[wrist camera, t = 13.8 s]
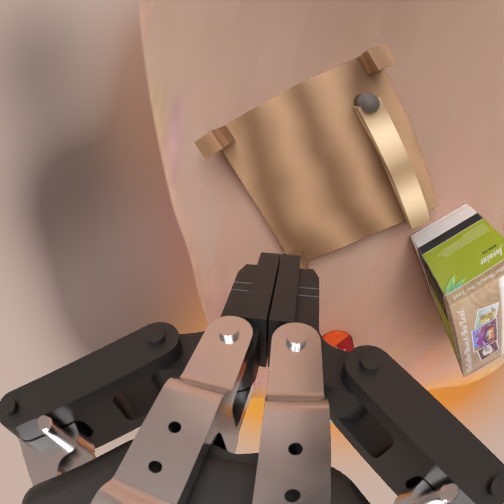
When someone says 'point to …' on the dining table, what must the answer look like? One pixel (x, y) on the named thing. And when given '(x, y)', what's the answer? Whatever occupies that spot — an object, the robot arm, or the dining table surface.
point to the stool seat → (321, 159)
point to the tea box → (466, 283)
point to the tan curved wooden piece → (393, 158)
